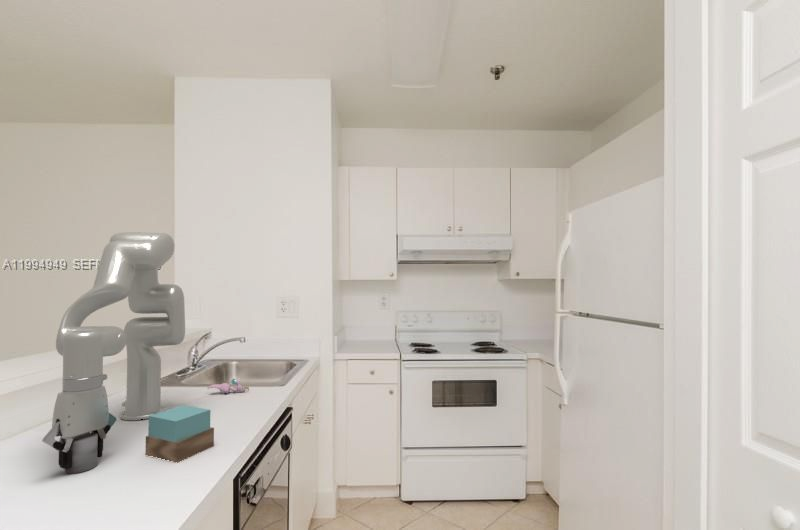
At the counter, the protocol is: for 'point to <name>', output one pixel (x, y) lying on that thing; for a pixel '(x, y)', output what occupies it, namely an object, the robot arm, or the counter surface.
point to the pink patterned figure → (226, 387)
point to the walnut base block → (179, 446)
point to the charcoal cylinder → (84, 452)
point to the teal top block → (179, 423)
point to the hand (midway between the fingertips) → (81, 461)
